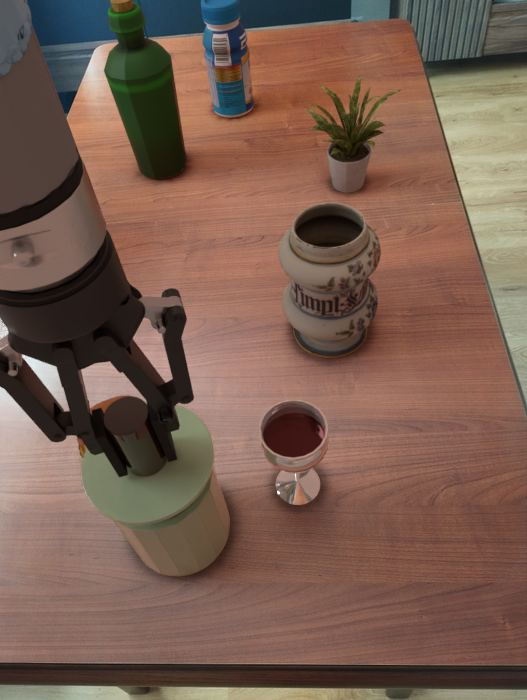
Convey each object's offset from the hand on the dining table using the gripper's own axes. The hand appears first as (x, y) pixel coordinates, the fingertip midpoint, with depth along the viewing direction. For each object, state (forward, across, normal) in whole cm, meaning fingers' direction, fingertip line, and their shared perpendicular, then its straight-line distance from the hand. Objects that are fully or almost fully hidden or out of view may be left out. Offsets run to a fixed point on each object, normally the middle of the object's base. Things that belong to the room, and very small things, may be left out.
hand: (145, 454), depth 50 cm
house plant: (+17, +40, +50) cm, 67 cm away
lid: (+1, 0, 0) cm, 1 cm away
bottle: (+16, +11, +67) cm, 70 cm away
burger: (+17, -5, +12) cm, 21 cm away
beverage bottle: (+16, +28, +81) cm, 88 cm away
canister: (+16, 0, 0) cm, 16 cm away
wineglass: (+17, +13, +1) cm, 21 cm away
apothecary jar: (+17, +25, +21) cm, 36 cm away
